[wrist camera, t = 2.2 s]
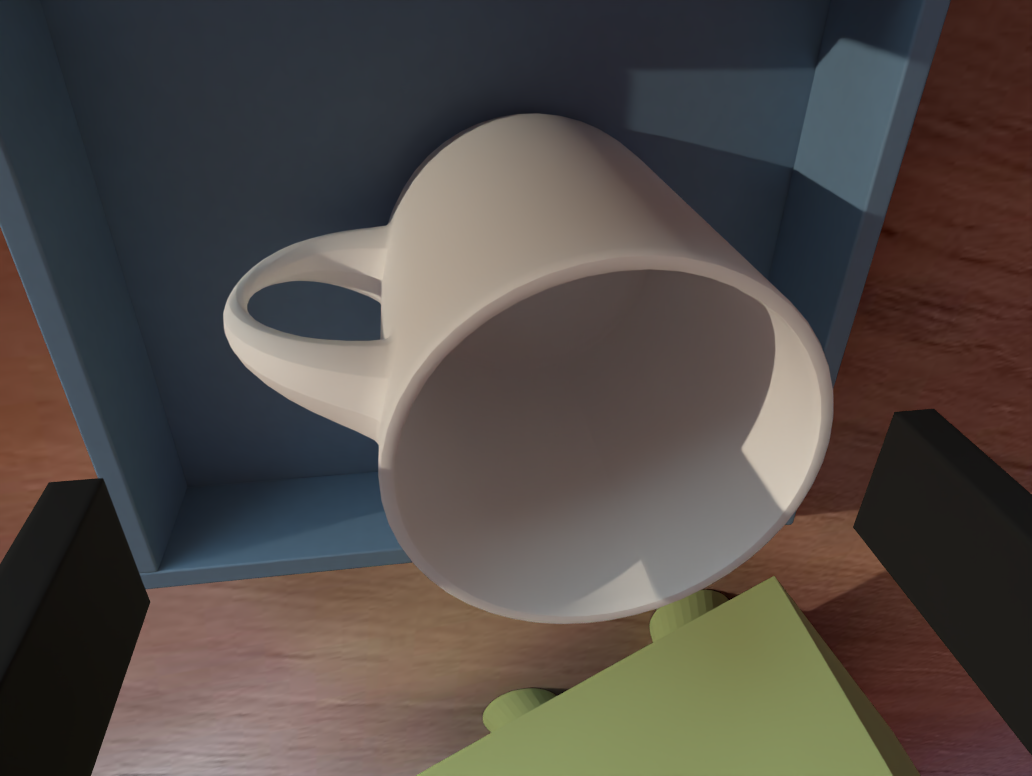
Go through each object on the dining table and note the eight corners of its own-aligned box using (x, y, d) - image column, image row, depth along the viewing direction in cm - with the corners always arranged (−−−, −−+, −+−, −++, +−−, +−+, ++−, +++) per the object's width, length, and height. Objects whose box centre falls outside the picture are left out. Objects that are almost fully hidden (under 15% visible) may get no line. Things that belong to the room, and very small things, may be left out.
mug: (264, 53, 18) (150, 178, 9) (695, 133, 21) (919, 289, 12) (258, 346, 23) (176, 621, 14) (615, 381, 25) (738, 628, 17)
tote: (-30, -141, 16) (-152, -159, 12) (874, -117, 19) (990, -125, 15) (174, 497, 26) (140, 590, 22) (742, 449, 29) (793, 525, 25)
